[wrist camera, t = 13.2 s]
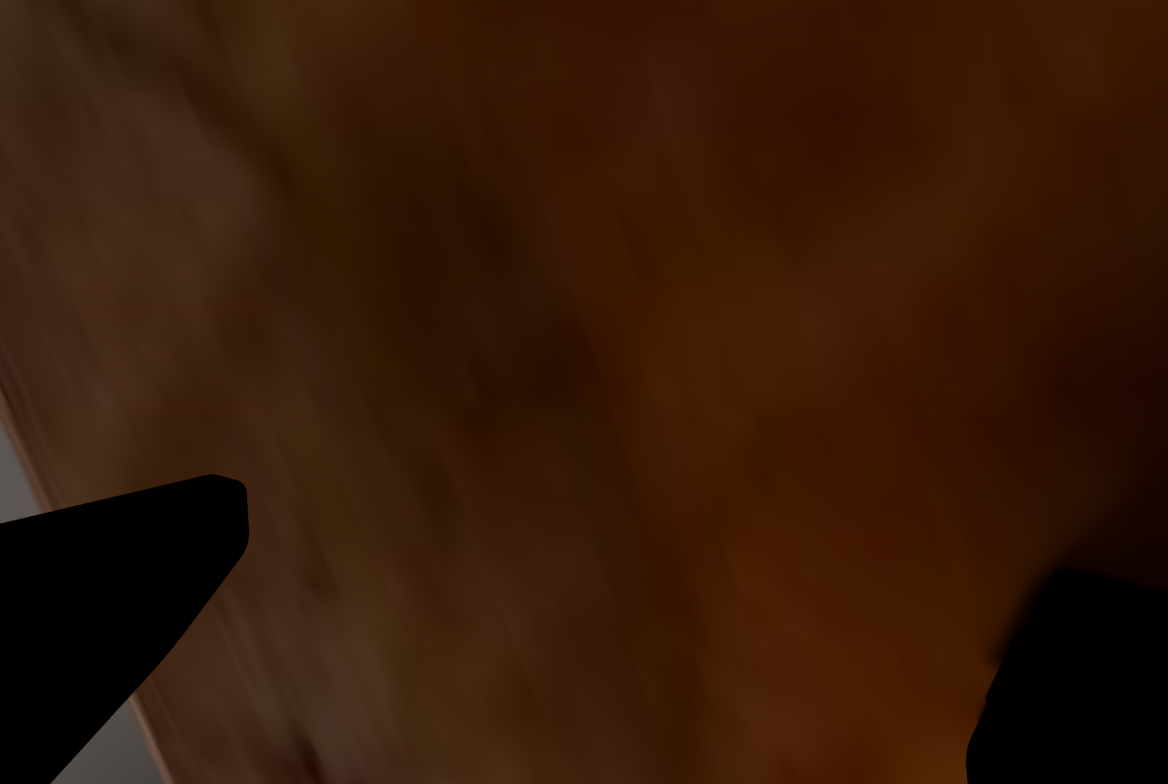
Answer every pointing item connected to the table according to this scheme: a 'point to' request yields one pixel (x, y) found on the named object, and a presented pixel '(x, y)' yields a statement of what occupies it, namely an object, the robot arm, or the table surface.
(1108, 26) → the table surface
